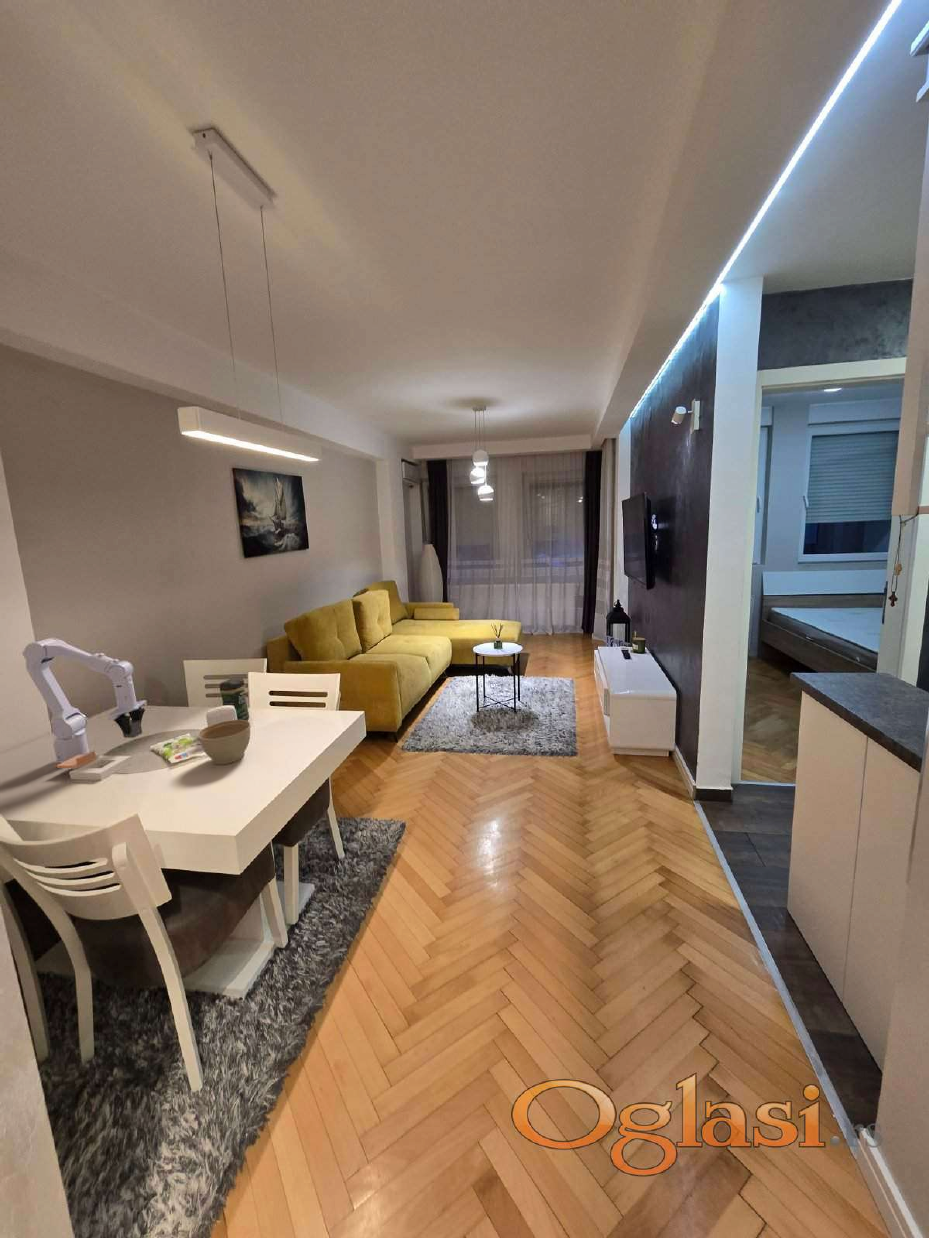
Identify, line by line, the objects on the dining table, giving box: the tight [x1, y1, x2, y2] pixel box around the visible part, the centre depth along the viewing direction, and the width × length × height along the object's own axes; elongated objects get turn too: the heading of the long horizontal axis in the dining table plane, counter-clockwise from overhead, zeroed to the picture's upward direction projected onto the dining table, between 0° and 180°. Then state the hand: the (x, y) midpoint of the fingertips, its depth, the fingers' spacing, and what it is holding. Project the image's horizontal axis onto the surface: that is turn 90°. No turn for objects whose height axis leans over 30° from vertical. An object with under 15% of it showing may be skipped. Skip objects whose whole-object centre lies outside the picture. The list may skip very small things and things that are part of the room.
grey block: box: [122, 719, 143, 739], centre depth 180 cm, size 4×4×5 cm
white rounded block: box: [205, 705, 237, 727], centre depth 189 cm, size 10×4×12 cm, turn 123°
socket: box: [68, 755, 133, 781], centre depth 168 cm, size 12×12×2 cm
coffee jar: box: [219, 676, 250, 721], centre depth 204 cm, size 10×8×19 cm
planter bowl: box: [197, 720, 251, 765], centre depth 170 cm, size 16×16×11 cm
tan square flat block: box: [56, 750, 100, 769], centre depth 169 cm, size 8×8×3 cm
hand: (132, 731), depth 180 cm, fingers closed on grey block, 4 cm apart
